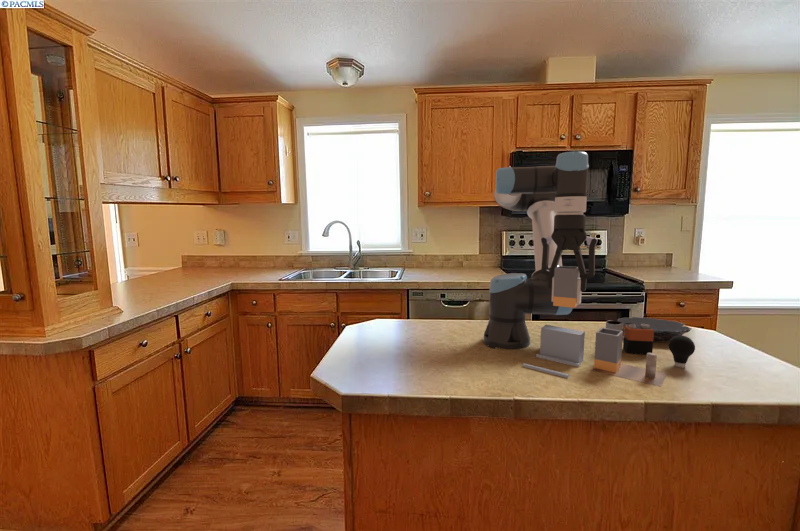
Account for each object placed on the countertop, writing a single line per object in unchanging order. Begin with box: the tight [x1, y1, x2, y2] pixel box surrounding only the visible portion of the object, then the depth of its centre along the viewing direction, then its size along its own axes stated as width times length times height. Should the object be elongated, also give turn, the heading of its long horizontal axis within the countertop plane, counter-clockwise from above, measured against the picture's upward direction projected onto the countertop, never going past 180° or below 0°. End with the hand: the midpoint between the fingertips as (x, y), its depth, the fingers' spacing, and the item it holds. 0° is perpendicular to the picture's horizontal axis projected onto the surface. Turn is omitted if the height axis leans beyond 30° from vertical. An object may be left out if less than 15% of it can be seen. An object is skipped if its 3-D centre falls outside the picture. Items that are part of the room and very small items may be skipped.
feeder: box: [522, 324, 586, 379], centre depth 110 cm, size 12×15×10 cm
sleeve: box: [553, 265, 581, 309], centre depth 103 cm, size 5×5×10 cm
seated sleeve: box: [593, 327, 624, 373], centre depth 106 cm, size 5×5×10 cm
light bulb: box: [668, 335, 696, 369], centre depth 107 cm, size 6×6×10 cm
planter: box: [605, 319, 624, 332], centre depth 119 cm, size 4×4×10 cm
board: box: [616, 316, 692, 343], centre depth 137 cm, size 22×22×5 cm
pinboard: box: [590, 352, 668, 388], centre depth 104 cm, size 16×10×8 cm, turn 49°
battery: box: [622, 324, 654, 356], centre depth 118 cm, size 4×7×10 cm, turn 78°
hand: (566, 301), depth 104 cm, fingers closed on sleeve, 5 cm apart
